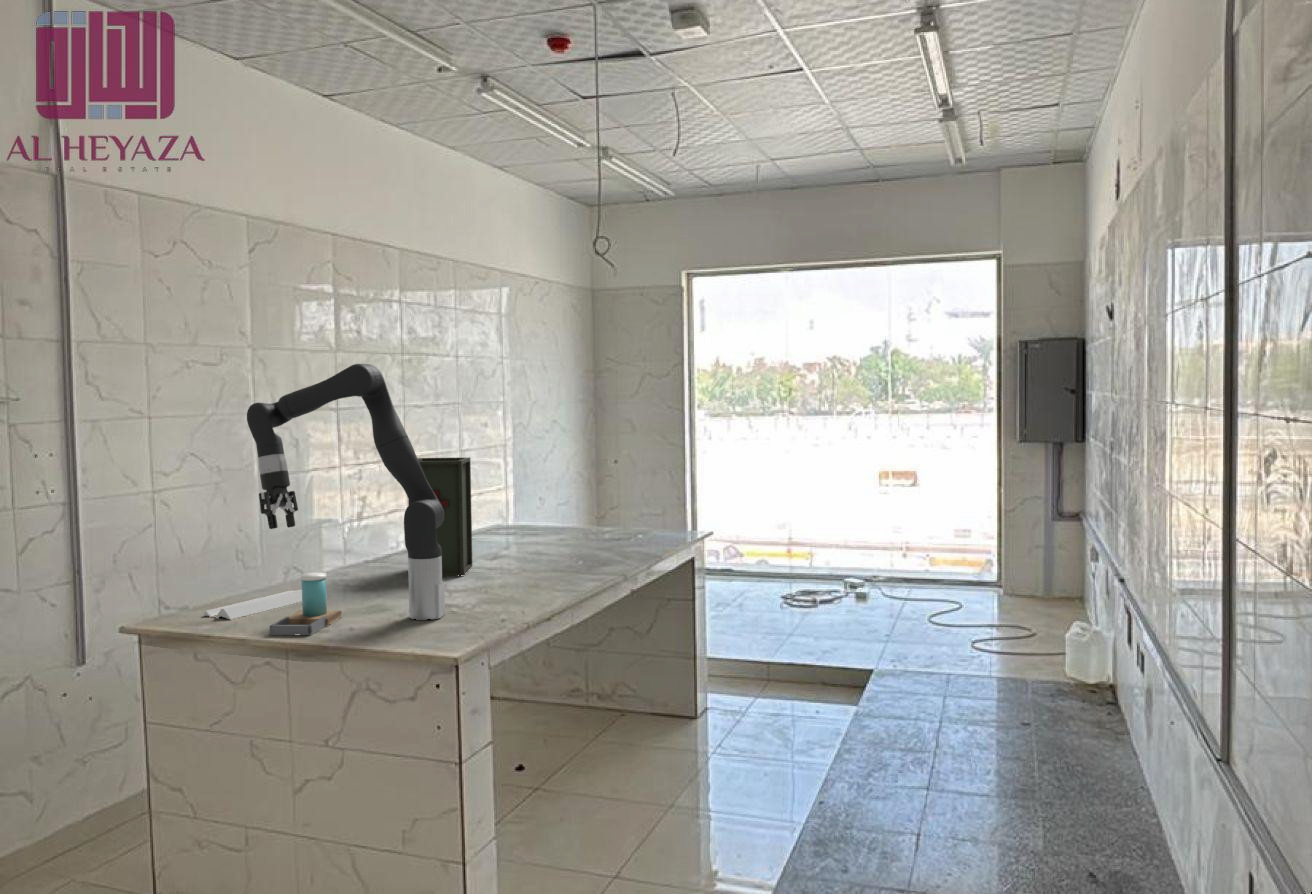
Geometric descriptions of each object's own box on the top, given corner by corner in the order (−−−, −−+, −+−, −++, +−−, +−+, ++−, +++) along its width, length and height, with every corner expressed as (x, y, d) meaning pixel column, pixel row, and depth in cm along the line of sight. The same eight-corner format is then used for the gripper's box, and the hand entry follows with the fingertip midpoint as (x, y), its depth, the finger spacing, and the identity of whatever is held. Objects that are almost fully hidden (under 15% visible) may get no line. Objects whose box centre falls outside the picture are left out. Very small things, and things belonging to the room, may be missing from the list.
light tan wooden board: (341, 617, 268) (341, 610, 268) (327, 626, 258) (327, 619, 258) (299, 617, 269) (299, 610, 269) (284, 626, 259) (284, 618, 259)
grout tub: (331, 611, 268) (330, 572, 267) (321, 616, 261) (320, 577, 260) (307, 611, 268) (306, 572, 267) (297, 616, 261) (296, 577, 261)
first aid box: (472, 566, 346) (470, 457, 344) (463, 576, 328) (461, 461, 325) (421, 567, 346) (419, 457, 343) (410, 577, 327) (407, 461, 325)
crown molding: (290, 597, 299) (289, 585, 299) (317, 601, 294) (317, 589, 294) (203, 618, 271) (203, 605, 271) (232, 622, 266) (232, 610, 266)
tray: (325, 626, 258) (325, 616, 258) (311, 635, 248) (310, 625, 248) (286, 626, 259) (286, 616, 259) (269, 635, 249) (269, 625, 249)
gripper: (270, 469, 263) (279, 526, 262) (299, 469, 277) (308, 524, 276) (246, 474, 264) (255, 531, 263) (277, 474, 278) (285, 528, 277)
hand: (282, 527), depth 270 cm, fingers open, 8 cm apart
